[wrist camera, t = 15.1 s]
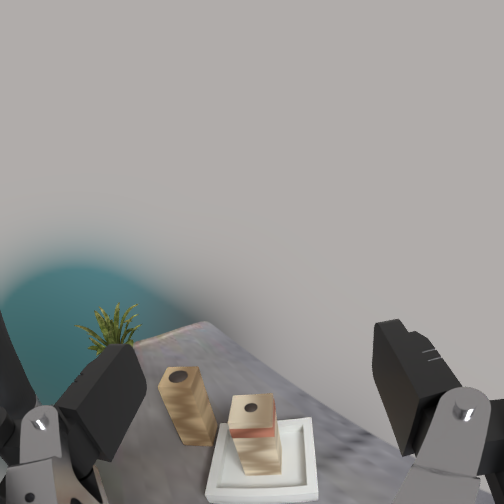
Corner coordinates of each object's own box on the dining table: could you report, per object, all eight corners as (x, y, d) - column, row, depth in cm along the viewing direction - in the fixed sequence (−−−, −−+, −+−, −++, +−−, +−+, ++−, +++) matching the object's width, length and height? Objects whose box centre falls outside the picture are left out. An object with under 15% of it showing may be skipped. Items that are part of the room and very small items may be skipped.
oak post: (183, 445, 38) (157, 386, 35) (190, 424, 42) (167, 366, 39) (212, 446, 37) (190, 386, 34) (217, 425, 41) (198, 365, 38)
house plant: (177, 363, 60) (156, 293, 56) (143, 404, 47) (110, 327, 43) (127, 356, 65) (105, 292, 60) (91, 389, 52) (61, 320, 48)
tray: (209, 502, 27) (204, 494, 27) (223, 433, 40) (220, 423, 39) (318, 500, 26) (318, 492, 25) (311, 427, 38) (311, 417, 38)
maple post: (245, 475, 31) (226, 422, 28) (248, 450, 35) (232, 394, 32) (281, 474, 30) (271, 420, 27) (282, 448, 34) (272, 392, 32)
